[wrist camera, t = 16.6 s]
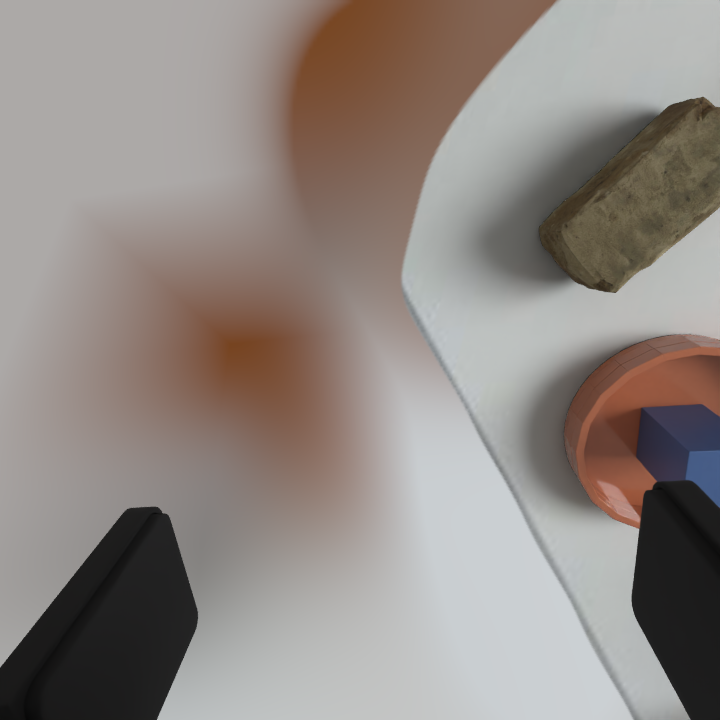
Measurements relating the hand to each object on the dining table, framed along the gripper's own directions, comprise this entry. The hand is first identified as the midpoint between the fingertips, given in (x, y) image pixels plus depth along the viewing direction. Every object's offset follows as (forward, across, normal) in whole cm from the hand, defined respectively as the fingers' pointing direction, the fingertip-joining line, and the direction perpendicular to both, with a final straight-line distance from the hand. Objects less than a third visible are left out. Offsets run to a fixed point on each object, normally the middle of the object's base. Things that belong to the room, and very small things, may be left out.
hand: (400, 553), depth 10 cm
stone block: (+28, -16, -4) cm, 32 cm away
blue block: (+27, -20, +14) cm, 36 cm away
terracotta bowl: (+28, -20, +14) cm, 37 cm away
